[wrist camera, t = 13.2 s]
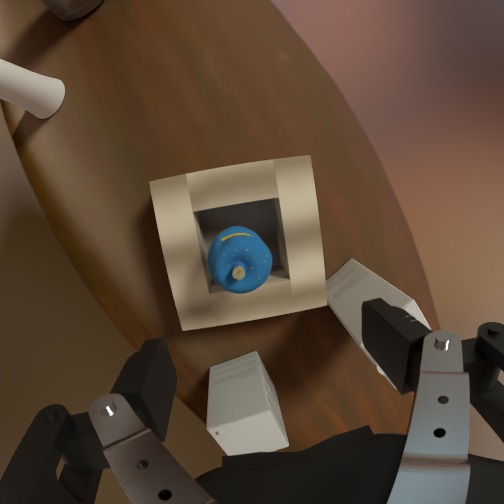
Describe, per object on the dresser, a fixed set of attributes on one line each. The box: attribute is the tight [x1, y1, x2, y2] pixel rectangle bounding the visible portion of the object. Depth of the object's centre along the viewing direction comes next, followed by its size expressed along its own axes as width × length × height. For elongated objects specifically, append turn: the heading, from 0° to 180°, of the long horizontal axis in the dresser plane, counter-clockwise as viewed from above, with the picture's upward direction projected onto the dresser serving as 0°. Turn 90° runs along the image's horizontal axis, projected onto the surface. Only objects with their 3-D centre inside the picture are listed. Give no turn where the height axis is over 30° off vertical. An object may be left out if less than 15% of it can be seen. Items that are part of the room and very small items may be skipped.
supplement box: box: [206, 351, 289, 456], centre depth 34 cm, size 7×7×13 cm
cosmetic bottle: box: [0, 59, 65, 119], centre depth 18 cm, size 6×6×22 cm
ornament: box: [208, 226, 272, 294], centre depth 28 cm, size 5×5×15 cm
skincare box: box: [326, 259, 431, 390], centre depth 31 cm, size 8×7×16 cm
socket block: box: [149, 155, 327, 331], centre depth 32 cm, size 16×16×6 cm
